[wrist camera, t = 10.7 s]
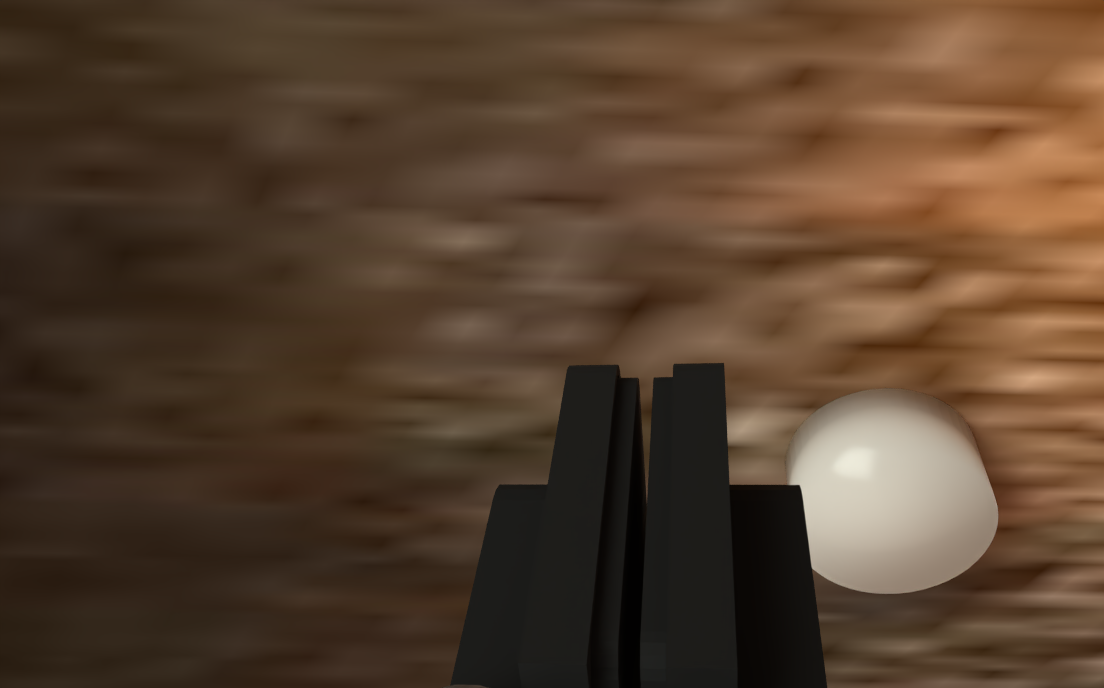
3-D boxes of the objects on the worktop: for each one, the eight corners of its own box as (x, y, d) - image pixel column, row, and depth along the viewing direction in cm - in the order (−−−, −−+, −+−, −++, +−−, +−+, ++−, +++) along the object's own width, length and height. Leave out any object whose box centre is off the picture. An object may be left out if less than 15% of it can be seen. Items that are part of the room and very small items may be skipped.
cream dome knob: (787, 387, 44) (795, 448, 41) (987, 385, 43) (1012, 447, 39) (782, 526, 48) (789, 591, 45) (963, 528, 47) (983, 595, 44)
